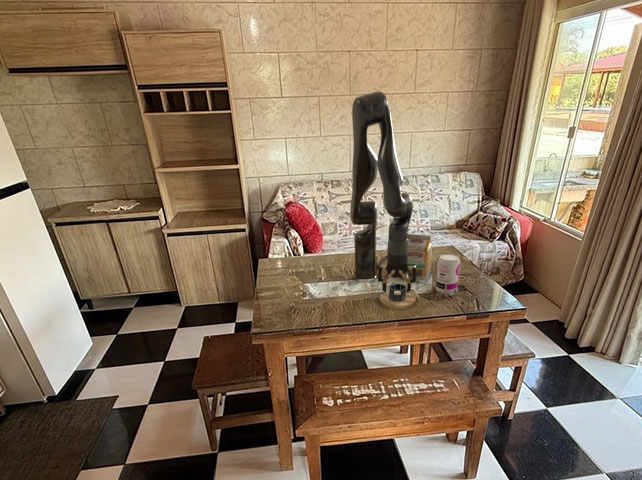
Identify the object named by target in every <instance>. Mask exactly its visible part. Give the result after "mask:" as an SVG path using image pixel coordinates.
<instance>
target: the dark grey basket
mask: <svg viewBox="0 0 642 480" xmlns="http://www.w3.org/2000/svg"><path fill="white" fill-rule="evenodd" d="M388 292H389V299H390V300H391V301H394V302H401V301H404V300H405V299H406V292H407V285H405V284H403V283H392V284H390V285H389V287H388Z"/></svg>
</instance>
